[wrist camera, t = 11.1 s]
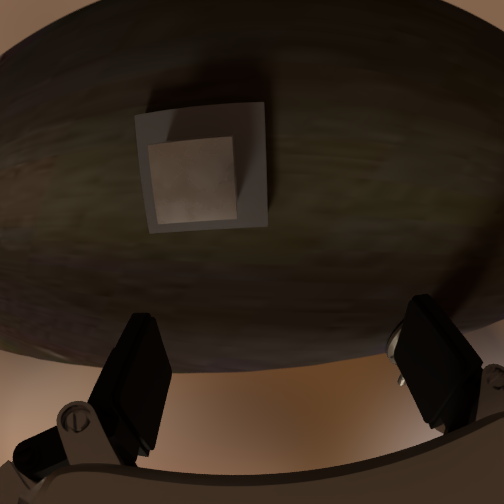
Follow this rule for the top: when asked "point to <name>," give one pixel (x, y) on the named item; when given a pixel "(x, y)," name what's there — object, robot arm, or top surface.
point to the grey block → (209, 124)
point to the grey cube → (194, 179)
